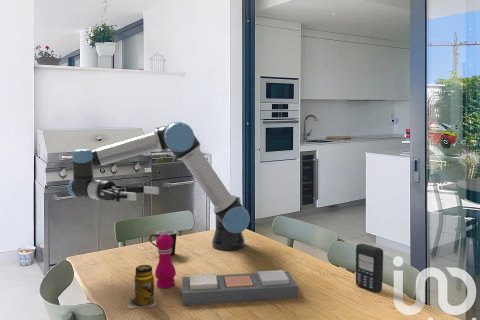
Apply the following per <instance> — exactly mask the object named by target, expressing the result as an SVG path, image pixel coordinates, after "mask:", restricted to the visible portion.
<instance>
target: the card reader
mask: <svg viewBox="0 0 480 320" xmlns="http://www.w3.org/2000/svg"><path fill="white" fill-rule="evenodd" d="M355 247H356V248H355V284H356V285H357V287H360V288H362V289H365V290H368V291H369V292H370V291H371V292H373V293H380V292H382V290H383V277H384V273H383V271H384V250H383V249H382V248H381V247H377V246H373V245H371V244H365V243H358V244H357V245H356V246H355Z"/></svg>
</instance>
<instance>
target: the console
mask: <svg viewBox="0 0 480 320" xmlns="http://www.w3.org/2000/svg"><path fill="white" fill-rule="evenodd" d="M283 271H284V270H283ZM284 272H285V274H286V275H287V277H288V279H289V284H282V285H266V286H262V285H261V283H260V281H259V278H258V272H253V273H252V272H250V273H237V274H236V273H235V274H219V275H217V274H216V279H217V287H218V288H216V289H200V290H190V276H183V277H182V279H181V280H182V284H181V286H182V287H181V288H182V289H181V297H182V298H181V302H182V306H193V305H209V304H224V303H225V304H226V303H237V302H239V303H240V302H242V303H243V302H252V301H253V302H254V301H257V302H258V301H268V300H269V301H271V300H272V301H273V300H283V299H284V300H287V299H298V298H299V285H298V284H297V282H296V280H295V279H294V278H293V276H292V274H291V273H290V272H289V271H284ZM247 275H250V277H251V280H252V282H253V285H254V286H249V287H233V288H226V287H225V282H224V277H229V276H247Z"/></svg>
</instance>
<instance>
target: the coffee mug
mask: <svg viewBox="0 0 480 320" xmlns="http://www.w3.org/2000/svg"><path fill="white" fill-rule="evenodd" d="M164 230H165V231H166V232H167V235H170V236H171V237H172V239H173V245H172V246H171V248H172V252H171V257H174V256H176V245H177V235H178V231H177V230H175V229H174V230H173V229H162V230H159V231H157V232H156V234H151V235H150V236H149V237H148V240H149V242H150V243H151V244H152V245H153V246H155V247H156V248H157V249H158V246H157V245H156V243H154V242H153V241H152V239H151V238H152V237H155V238H156V239H157V238H158V237H159V236H160V235H162V231H164Z"/></svg>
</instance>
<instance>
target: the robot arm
mask: <svg viewBox="0 0 480 320" xmlns="http://www.w3.org/2000/svg"><path fill="white" fill-rule="evenodd" d="M157 150H159V151H161V152H162V151H165V150H170V152H171V153H172V155H174V158H176V160H177V161H181V162H183V164H185V166H186V168H187V169H188V171H189V172H190V174H191V175H192V176H193V178H194V179H195V181H196V182H197V184H198V185H199V187H200V188H201V190H202V191H203V193H204V194H205V195H206V196H207V198H208V200H209V201H210V202H211V204H212V205H213V213H214V214H215V231H214V235H213V238H212V242H211V243H212V244H211V246H212V247H213V248H214V249H217V250H223V251H234V250H240V249H242V248H244V247H245V246H246V244H245V242H246V241H245V237H244V235H243V232H244V231H245V230H246V229H247V228H248V226H249V224H250V221H251V220H250V219H251V218H250V217H251V216H250V213H249V211H248V210H247V209H246V208H245V207H244V206H243V204H242V203H241V202H242V201H241V198H240V197H239V196H236V195H232V194H231V193H230V191H229V190H228V188H227V187H226V186H225V185H224V183H223V181H222V180H221V179H220V177H219V176H218V174H217V173H216V171H215V170H214V168H213V167H212V166H211V163H210V162H209V160H207V158H206V157H205V155H204V154H203V152H202V151H201V143H200V141H199V140H198V138H197V137H196V135H195V133H194V130H193V128H192V127H190V126H189V124H187V123H185V122H181V121H175V122H172V123H169V124H168V125H165V126H163V127H160V128H157V129H154V131H153V132H151V133H146V134H145V135H144V134H143V135H140V136H137V137H133V138H130V139H127V140H123V141H120V142H116V143H112V144H109V145H105V146H102V147H99V148H96V149H88V148H83V149H82V148H81V149H73V151H72V153H71V154H72V157H71V160H72V173H73V174H72V175H73V179H71V180H69V182H68V185H67V192H68V194H69V195H70V196H71V197H74V198H78V199H87V200H88V199H90V200H92V199H93V200H96V201H97V202H98V201H99V200H100V201H101V200H102V201H116V202H118V203H119V202H120V201H121V200H124V201H134V202H136V201H137V194H141V193H143V194H149V195H160V187H158V186H148V185H147V184H146V183H144V184H143V185H133V184H132V185H127V184H126V185H125V184H124V185H120V184H119V185H116V183H115V182H114V181H112V180H102V179H101V180H100V179H94V169H95V168H99V167H101V166H105V165H108V164H112V163H115V162H119V161H122V160H126V159H129V158H133V157H137V156H140V155H143V154H147V153H150V152H155V151H157Z"/></svg>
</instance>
